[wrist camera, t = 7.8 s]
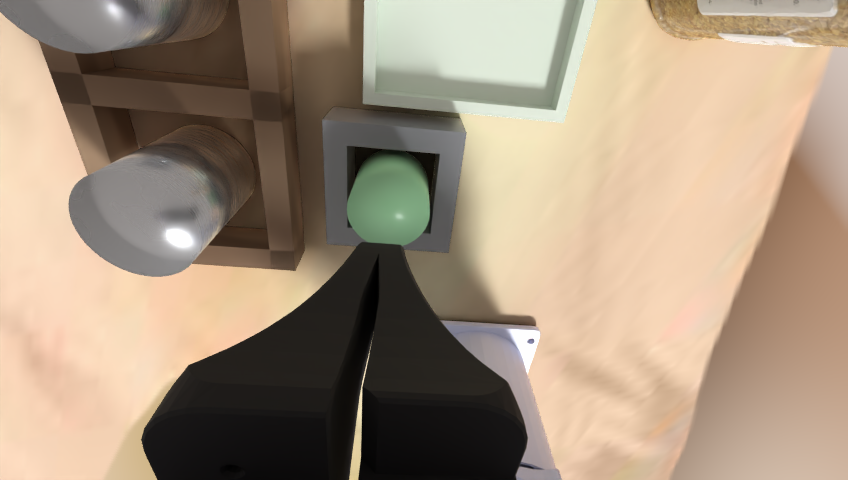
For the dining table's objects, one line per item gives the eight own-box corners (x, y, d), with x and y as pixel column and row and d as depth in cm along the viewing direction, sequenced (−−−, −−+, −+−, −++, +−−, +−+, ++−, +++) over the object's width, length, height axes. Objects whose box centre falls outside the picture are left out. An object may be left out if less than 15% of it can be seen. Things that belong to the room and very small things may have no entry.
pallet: (304, 250, 22) (295, 270, 20) (142, 239, 22) (118, 258, 20) (276, -147, 14) (255, -170, 12) (7, -183, 13) (-54, -212, 11)
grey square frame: (445, 228, 21) (448, 252, 19) (336, 220, 21) (326, 243, 19) (460, 118, 18) (466, 132, 16) (333, 106, 18) (322, 119, 16)
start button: (424, 218, 19) (425, 250, 17) (356, 213, 19) (347, 244, 17) (431, 152, 18) (434, 176, 15) (356, 145, 18) (346, 169, 15)
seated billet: (261, 211, 21) (210, 279, 16) (175, 206, 21) (95, 273, 16) (248, 127, 19) (183, 175, 13) (151, 121, 18) (46, 166, 13)
